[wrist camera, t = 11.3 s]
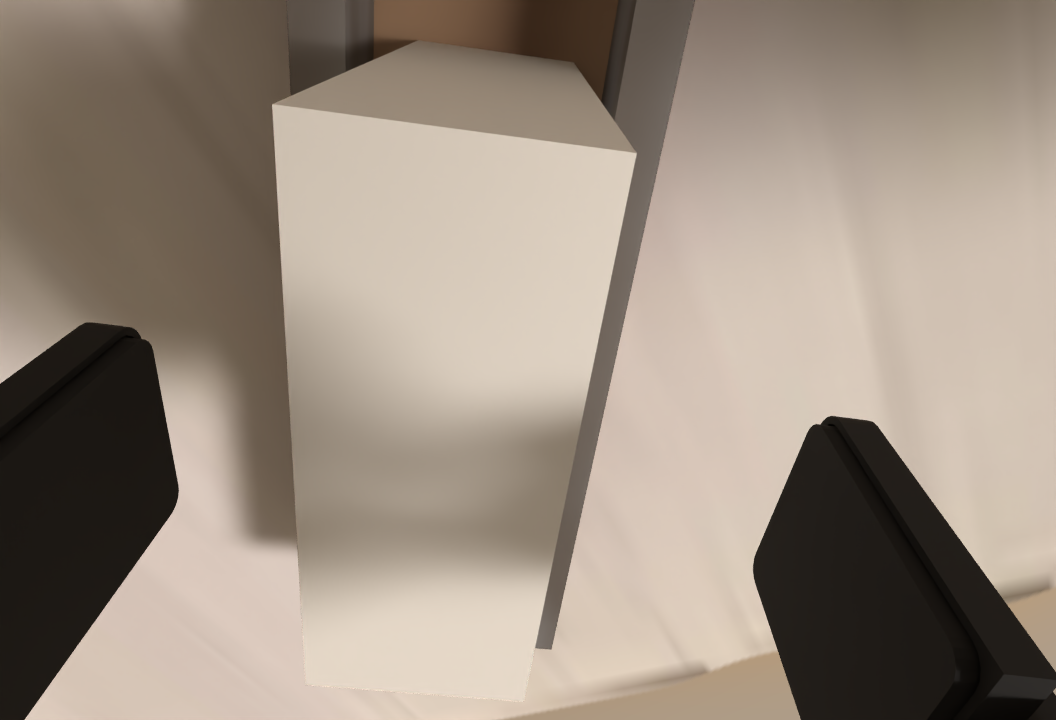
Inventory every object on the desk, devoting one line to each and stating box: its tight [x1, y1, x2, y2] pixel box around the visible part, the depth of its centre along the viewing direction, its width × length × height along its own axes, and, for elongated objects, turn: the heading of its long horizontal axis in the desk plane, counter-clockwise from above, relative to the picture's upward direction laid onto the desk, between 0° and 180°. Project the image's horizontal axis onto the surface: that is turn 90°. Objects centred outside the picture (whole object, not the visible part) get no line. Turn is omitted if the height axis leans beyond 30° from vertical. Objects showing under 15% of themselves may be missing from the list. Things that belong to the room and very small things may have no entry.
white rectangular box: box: [272, 40, 637, 702], centre depth 14 cm, size 4×10×11 cm, turn 173°
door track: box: [287, 0, 695, 649], centre depth 19 cm, size 8×28×4 cm, turn 173°
